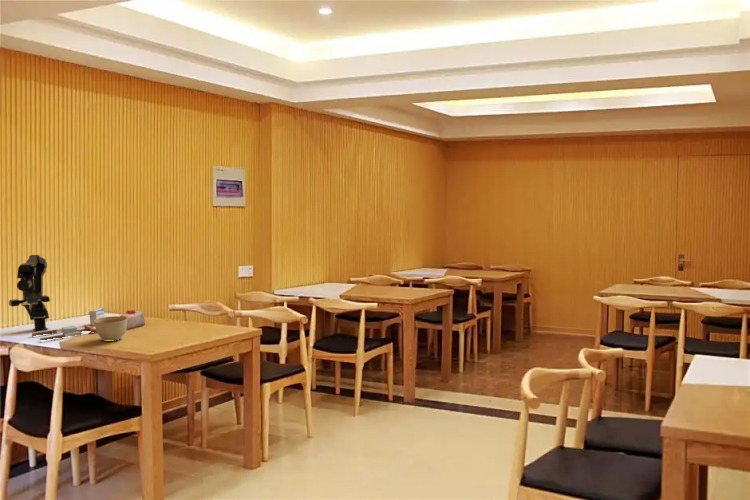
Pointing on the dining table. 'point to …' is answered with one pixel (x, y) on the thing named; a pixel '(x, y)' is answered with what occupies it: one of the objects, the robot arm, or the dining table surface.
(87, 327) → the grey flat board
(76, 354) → the dining table surface
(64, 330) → the block
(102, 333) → the planter bowl
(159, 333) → the dining table surface
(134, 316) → the food item
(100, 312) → the medicine box
